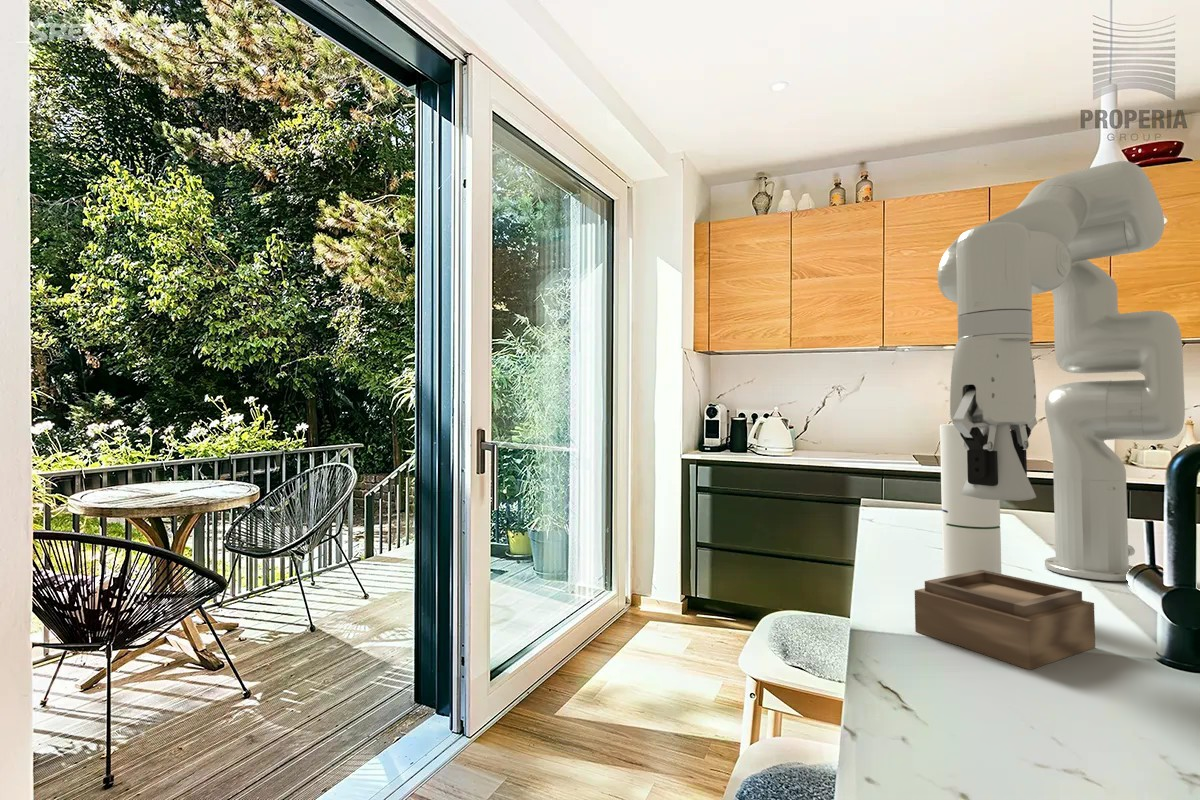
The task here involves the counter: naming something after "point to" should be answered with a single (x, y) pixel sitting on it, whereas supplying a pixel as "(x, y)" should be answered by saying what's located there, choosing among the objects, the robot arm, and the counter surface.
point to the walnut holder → (1006, 617)
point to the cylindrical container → (965, 514)
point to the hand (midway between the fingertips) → (997, 481)
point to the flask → (1004, 473)
